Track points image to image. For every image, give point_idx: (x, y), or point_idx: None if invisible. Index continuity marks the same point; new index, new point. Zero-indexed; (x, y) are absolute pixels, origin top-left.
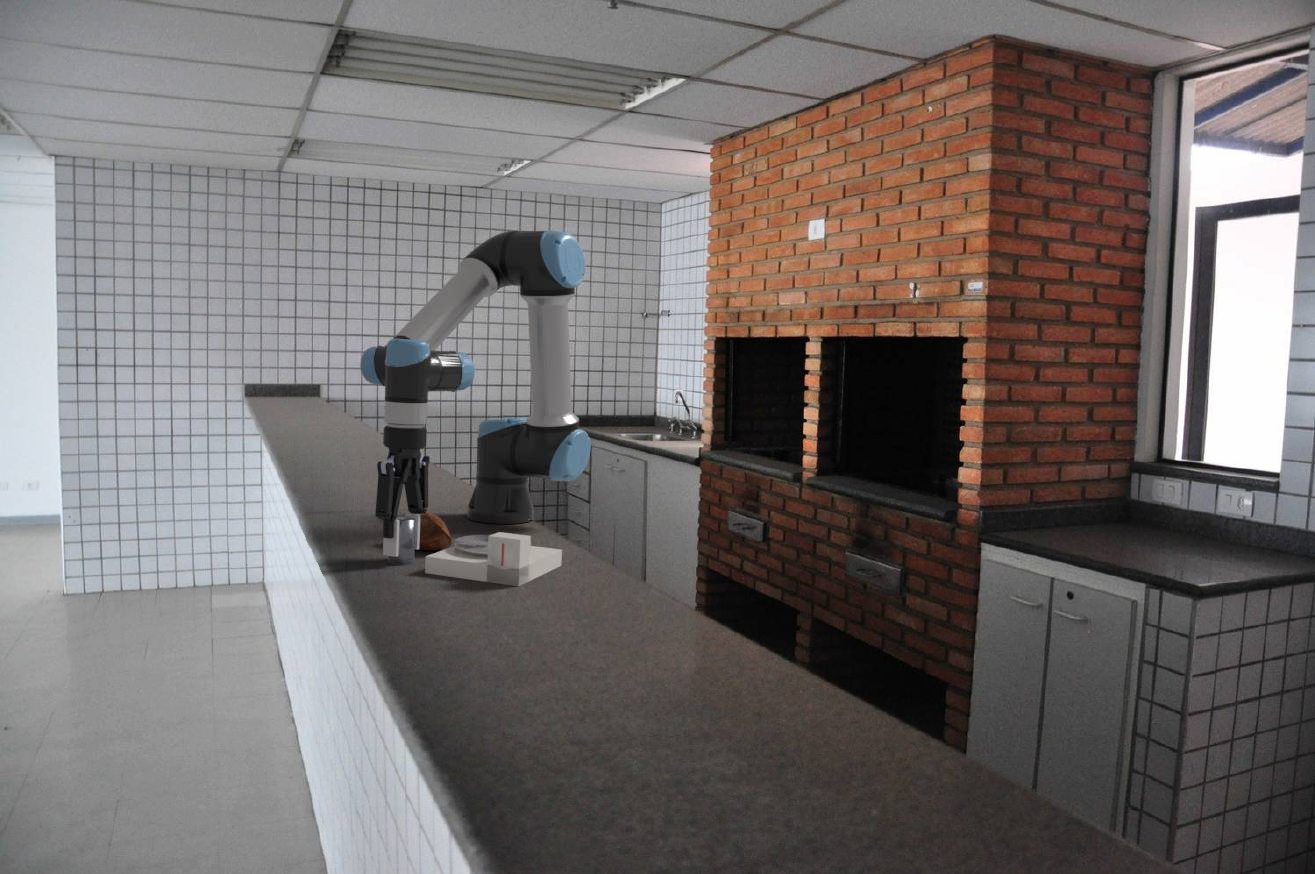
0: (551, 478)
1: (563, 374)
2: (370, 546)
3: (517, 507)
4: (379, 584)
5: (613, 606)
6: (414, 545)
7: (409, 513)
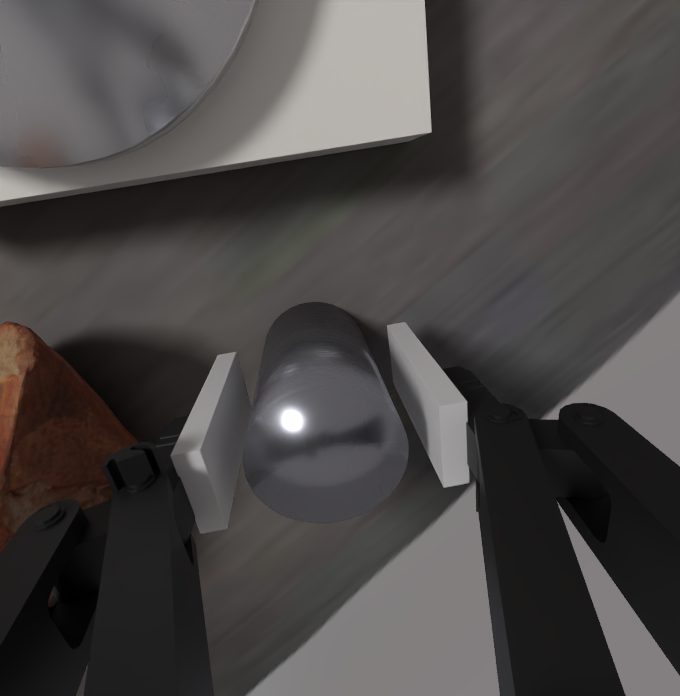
0: None
1: None
2: (209, 567)
3: None
4: (654, 163)
5: None
6: (289, 333)
7: (209, 513)
